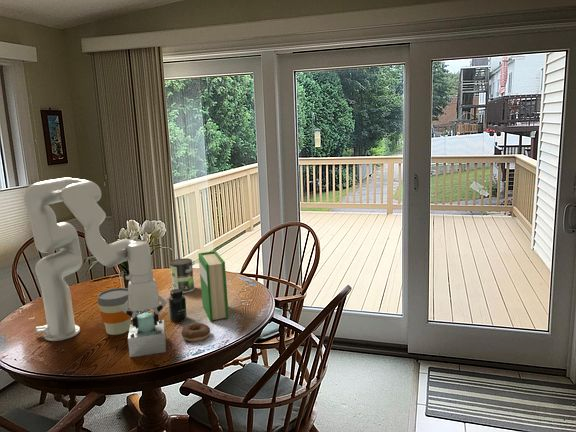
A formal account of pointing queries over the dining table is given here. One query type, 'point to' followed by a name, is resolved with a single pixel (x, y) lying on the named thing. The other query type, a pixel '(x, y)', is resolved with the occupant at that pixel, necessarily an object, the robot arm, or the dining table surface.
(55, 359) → the dining table surface
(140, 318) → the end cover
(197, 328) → the donut
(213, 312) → the hardback book
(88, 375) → the dining table surface
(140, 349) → the housing
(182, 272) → the coffee can
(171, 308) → the supplement bottle
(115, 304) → the reusable coffee cup
